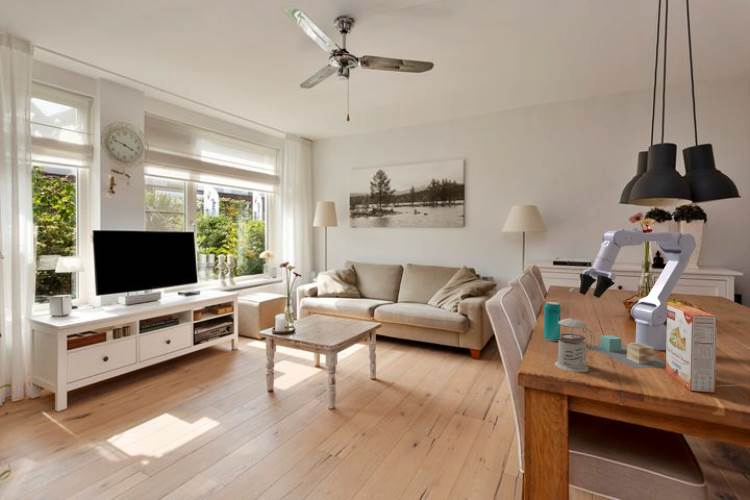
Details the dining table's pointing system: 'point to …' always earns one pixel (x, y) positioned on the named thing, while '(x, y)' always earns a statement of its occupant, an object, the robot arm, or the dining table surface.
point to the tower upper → (640, 349)
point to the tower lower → (640, 358)
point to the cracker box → (691, 347)
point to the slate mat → (622, 358)
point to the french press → (572, 346)
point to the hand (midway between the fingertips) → (588, 295)
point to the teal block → (611, 343)
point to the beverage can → (552, 321)
